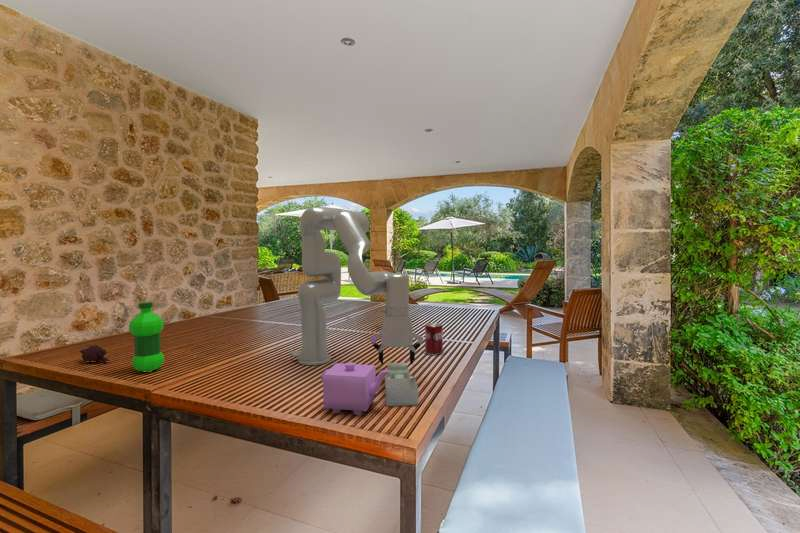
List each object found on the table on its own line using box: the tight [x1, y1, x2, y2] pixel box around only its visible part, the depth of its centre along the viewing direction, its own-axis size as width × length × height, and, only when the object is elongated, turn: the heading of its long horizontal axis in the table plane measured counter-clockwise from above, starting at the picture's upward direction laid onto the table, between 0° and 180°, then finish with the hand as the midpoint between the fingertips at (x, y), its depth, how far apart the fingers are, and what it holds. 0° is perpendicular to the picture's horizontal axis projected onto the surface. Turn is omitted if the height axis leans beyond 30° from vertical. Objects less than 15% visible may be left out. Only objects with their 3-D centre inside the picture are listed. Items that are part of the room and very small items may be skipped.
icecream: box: [79, 344, 110, 363], centre depth 152 cm, size 7×7×15 cm
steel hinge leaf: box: [384, 374, 419, 407], centre depth 114 cm, size 9×12×5 cm
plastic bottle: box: [128, 301, 165, 372], centre depth 140 cm, size 10×10×25 cm
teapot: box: [320, 361, 390, 416], centre depth 107 cm, size 20×10×12 cm, turn 79°
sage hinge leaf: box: [386, 362, 410, 379], centre depth 124 cm, size 6×14×5 cm, turn 4°
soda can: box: [424, 322, 444, 356], centre depth 160 cm, size 7×7×12 cm
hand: (396, 362), depth 126 cm, fingers open, 9 cm apart
